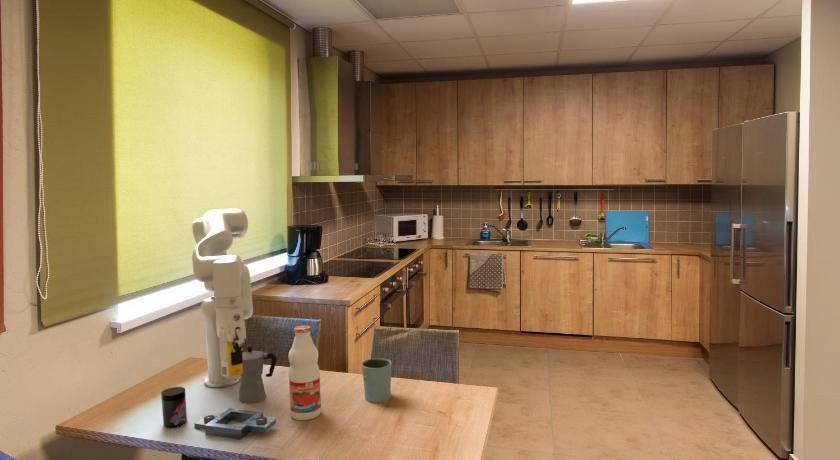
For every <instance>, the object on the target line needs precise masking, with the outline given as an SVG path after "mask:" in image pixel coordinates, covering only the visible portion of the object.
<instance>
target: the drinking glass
mask: <svg viewBox="0 0 840 460" xmlns="http://www.w3.org/2000/svg"><path fill="white" fill-rule="evenodd" d="M392 363H393V362H392V361H391V360H390V359H388V358H382V357H378V358H369V359H366V360H363V361H362V362H361V371H362V372H361V374H362V380H363V381H362V382H363V390H364V399H365V401H367V402H368V403H374V404H377V403H378V404H379V403H380V404H381V403H385V402H387V401H389V400H390V399H391V396H392V395H391V391H392V390H391V386H392V385H391V383H392V382H391V381H392V365H393V364H392Z"/></svg>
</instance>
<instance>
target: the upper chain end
mask: <svg viewBox="0 0 840 460" xmlns="http://www.w3.org/2000/svg"><path fill="white" fill-rule="evenodd" d="M264 414H265V413H264V411H254V410H249V409H248V410H247V409H240V408H230V407H229V408H228V409H225V411H223V412H221V413H220V414H219V415H216V416H217V417H216V418H215V419H213V420H212V421H210V422H209V423H207V424H206V425H205V429H204V431H205V430H208V431H215V432H223V433H230V434H238V435H242V434H243V433H244V432H245V431H247V430H249V431H252V432H258V433H267V432H268V431H269V430H271V428H272V427H274V426H275V425H277V418H275V417H267V416H265V415H264ZM231 416H233V417H242V418H249V419H247V420H246V421H245V422H241V424H240V425H233V424H232V425H231V424H221V423H223V422H224V421H226V420H227V419H228V418H230V417H231Z"/></svg>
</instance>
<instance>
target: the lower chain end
mask: <svg viewBox="0 0 840 460" xmlns="http://www.w3.org/2000/svg"><path fill="white" fill-rule="evenodd" d="M217 416H218V415H214V414H206V415H204V416H203V417H201V419H199V420H197V421H196V422H194V425H193V427H194V429H197V430H204V435H205V436H208V437H209V436H210V437H217V438H224V439H225V438H226V439H232V440H233V439H234V440H239V441H243V439H244V438H246V437H247V436H248V435H249V434H250V433H253V431H249V430H247V431H245V432H244V433H243V434H242V435H238V434H230V433H223V432H215V431H208V430H205V425H206V424H207V423H209V422H210V421H212V420H213V419H215V418H216V417H217ZM247 419H249V418H242V417H233V416H231V417H230V418H228V419H227V420H226V421H224V422H223V423H221V424H227V425H229V424H230V423H231V422H238V423H243V422H245V421H246V420H247Z"/></svg>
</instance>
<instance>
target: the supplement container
mask: <svg viewBox="0 0 840 460" xmlns="http://www.w3.org/2000/svg"><path fill="white" fill-rule="evenodd" d="M160 393H161V394H160V396H161V409H162V423H163V426H164V427H165V428H167V429H177V428H180V427H183V426H184V425H186V423H187V422H188V413H187V398H186V395H187V394H186V388H185V387H181V386H174V387H169V388H165V389H164V390H162V391H161V392H160Z"/></svg>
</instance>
